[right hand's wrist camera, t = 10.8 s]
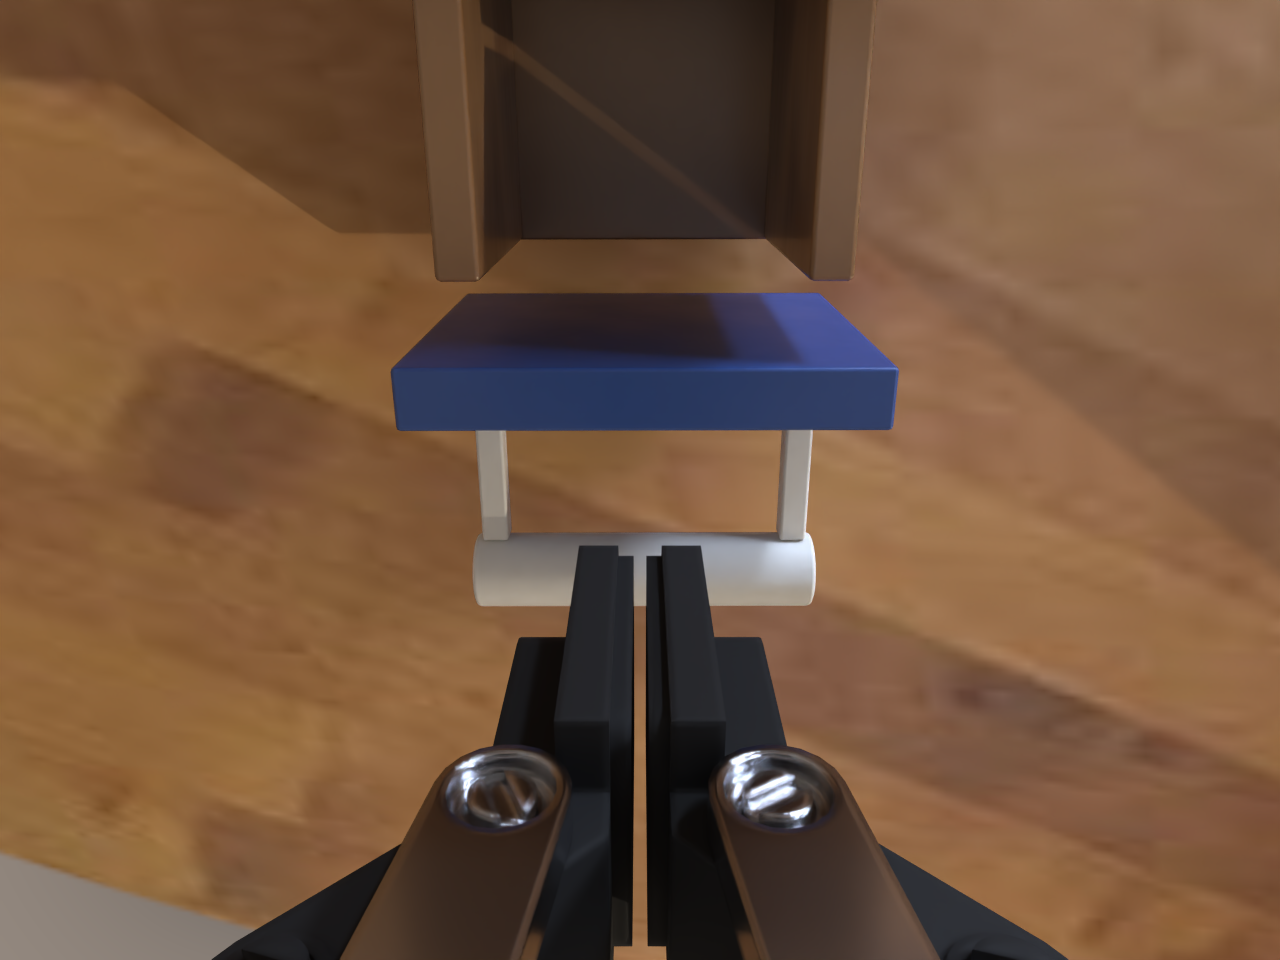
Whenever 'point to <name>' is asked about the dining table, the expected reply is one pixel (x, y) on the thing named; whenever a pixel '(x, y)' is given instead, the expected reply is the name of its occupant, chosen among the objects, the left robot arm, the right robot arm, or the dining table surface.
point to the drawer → (644, 209)
